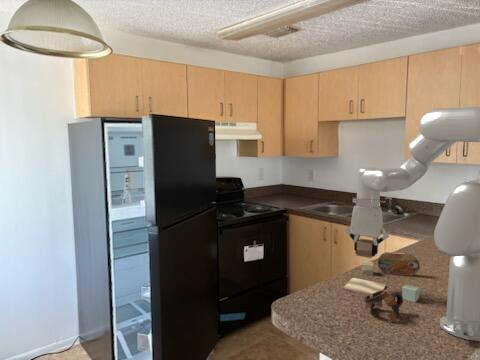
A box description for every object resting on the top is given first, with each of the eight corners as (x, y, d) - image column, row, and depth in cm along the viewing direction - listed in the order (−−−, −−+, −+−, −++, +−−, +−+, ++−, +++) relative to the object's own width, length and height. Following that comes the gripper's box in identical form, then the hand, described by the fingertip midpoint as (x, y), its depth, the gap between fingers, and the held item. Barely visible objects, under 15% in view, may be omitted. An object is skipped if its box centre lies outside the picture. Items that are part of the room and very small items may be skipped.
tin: (377, 273, 146) (378, 252, 145) (377, 270, 149) (377, 250, 148) (419, 277, 141) (420, 255, 140) (417, 274, 144) (418, 253, 143)
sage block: (414, 302, 119) (415, 290, 118) (401, 298, 121) (402, 287, 121) (418, 298, 121) (419, 287, 121) (406, 295, 124) (406, 283, 124)
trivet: (378, 297, 122) (378, 295, 122) (342, 289, 129) (342, 287, 129) (386, 285, 132) (386, 284, 132) (352, 279, 139) (352, 277, 139)
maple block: (373, 275, 143) (373, 265, 142) (362, 274, 144) (362, 264, 144) (372, 272, 147) (373, 262, 146) (362, 271, 148) (362, 261, 147)
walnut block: (371, 258, 126) (371, 243, 125) (356, 255, 129) (357, 241, 128) (374, 254, 130) (375, 240, 130) (360, 252, 133) (360, 238, 132)
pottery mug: (387, 327, 103) (373, 299, 105) (367, 327, 112) (354, 301, 113) (416, 309, 108) (402, 282, 110) (395, 310, 116) (383, 285, 118)
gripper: (340, 202, 129) (338, 252, 131) (391, 207, 120) (388, 261, 122) (346, 199, 135) (344, 247, 137) (396, 204, 126) (393, 255, 128)
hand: (365, 253), depth 129 cm, fingers closed on walnut block, 5 cm apart
